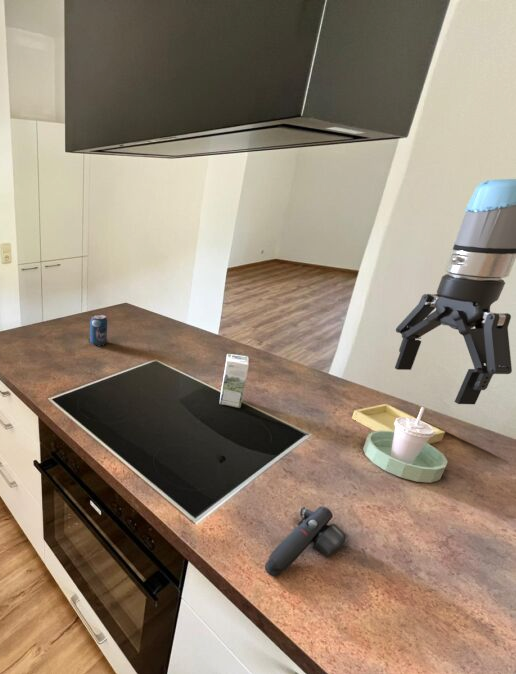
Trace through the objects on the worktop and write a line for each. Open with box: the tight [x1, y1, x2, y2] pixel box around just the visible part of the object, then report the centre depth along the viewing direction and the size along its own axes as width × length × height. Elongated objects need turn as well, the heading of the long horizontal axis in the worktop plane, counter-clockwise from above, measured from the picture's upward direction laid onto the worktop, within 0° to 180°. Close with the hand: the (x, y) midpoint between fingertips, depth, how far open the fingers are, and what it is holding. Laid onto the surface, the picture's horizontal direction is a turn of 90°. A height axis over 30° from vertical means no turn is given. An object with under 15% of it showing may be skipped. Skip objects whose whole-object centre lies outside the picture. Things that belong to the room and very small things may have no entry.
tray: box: [351, 403, 446, 445], centre depth 93 cm, size 14×12×3 cm
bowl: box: [362, 430, 449, 483], centre depth 81 cm, size 13×13×4 cm
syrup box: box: [219, 353, 250, 409], centre depth 104 cm, size 6×6×14 cm
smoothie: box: [390, 406, 435, 464], centre depth 79 cm, size 6×6×14 cm
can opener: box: [264, 506, 347, 578], centre depth 61 cm, size 18×7×6 cm, turn 118°
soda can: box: [89, 313, 108, 347], centre depth 148 cm, size 7×7×12 cm
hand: (430, 384), depth 70 cm, fingers open, 13 cm apart
